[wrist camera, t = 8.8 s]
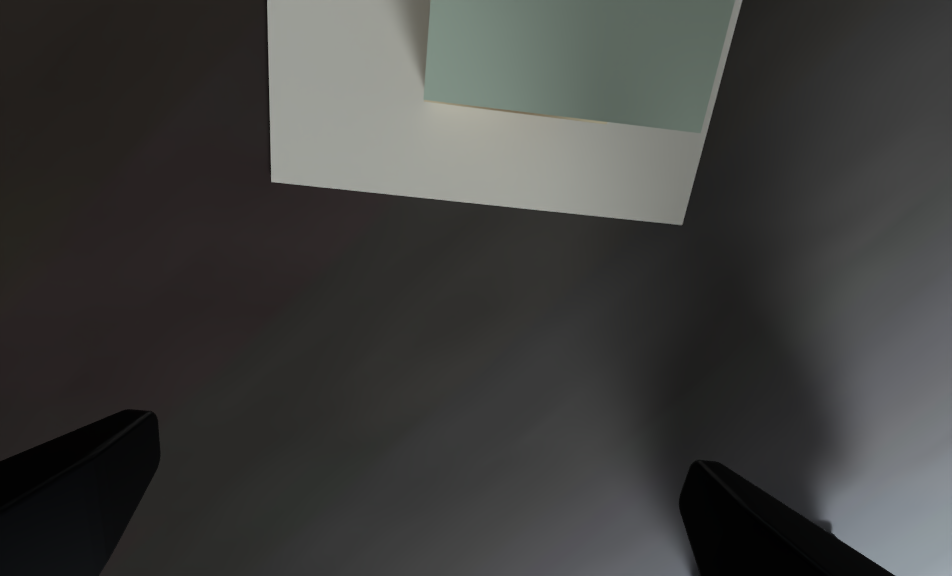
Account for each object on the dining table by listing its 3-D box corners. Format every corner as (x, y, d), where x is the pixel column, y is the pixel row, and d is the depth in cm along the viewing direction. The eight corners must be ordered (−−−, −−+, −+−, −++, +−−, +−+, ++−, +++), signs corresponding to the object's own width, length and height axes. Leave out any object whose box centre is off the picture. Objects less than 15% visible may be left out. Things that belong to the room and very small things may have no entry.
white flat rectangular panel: (774, -137, 16) (779, -141, 16) (678, 223, 20) (681, 225, 20) (265, -233, 15) (261, -239, 14) (273, 180, 19) (271, 181, 19)
